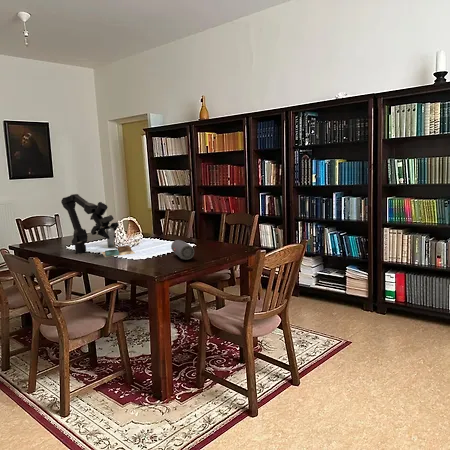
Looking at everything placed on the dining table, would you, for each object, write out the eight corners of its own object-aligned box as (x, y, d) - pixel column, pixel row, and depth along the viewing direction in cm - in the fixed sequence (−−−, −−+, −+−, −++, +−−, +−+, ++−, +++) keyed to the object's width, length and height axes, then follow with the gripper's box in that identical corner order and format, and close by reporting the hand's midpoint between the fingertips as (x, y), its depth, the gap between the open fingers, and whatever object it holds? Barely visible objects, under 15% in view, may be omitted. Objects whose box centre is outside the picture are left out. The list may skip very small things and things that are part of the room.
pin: (106, 248, 270) (105, 229, 269) (108, 246, 275) (107, 228, 273) (113, 247, 270) (112, 228, 269) (115, 246, 275) (114, 227, 273)
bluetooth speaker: (170, 255, 267) (169, 239, 266) (185, 253, 271) (184, 238, 269) (180, 262, 246) (179, 245, 245) (195, 260, 250) (194, 243, 248)
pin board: (105, 258, 267) (104, 253, 267) (101, 253, 284) (101, 248, 283) (135, 255, 274) (135, 249, 274) (130, 250, 291) (130, 245, 290)
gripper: (92, 213, 264) (105, 232, 259) (115, 209, 279) (128, 227, 274) (85, 225, 270) (97, 243, 265) (109, 221, 285) (121, 238, 280)
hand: (111, 238), depth 271 cm, fingers closed on pin, 4 cm apart
